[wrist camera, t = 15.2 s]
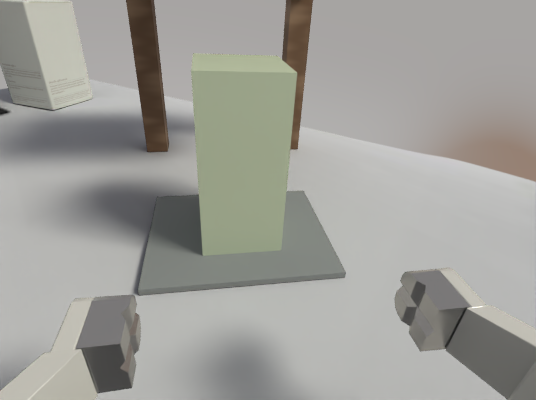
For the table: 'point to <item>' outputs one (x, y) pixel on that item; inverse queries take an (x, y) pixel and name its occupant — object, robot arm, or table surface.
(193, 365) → the table surface
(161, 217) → the slate mat
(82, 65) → the supplement box
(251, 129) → the sage block
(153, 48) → the shelf stand
